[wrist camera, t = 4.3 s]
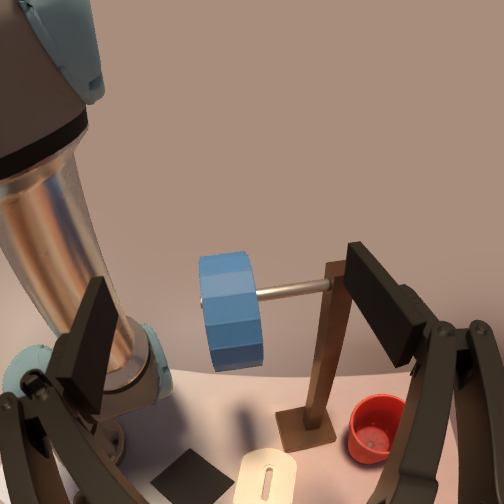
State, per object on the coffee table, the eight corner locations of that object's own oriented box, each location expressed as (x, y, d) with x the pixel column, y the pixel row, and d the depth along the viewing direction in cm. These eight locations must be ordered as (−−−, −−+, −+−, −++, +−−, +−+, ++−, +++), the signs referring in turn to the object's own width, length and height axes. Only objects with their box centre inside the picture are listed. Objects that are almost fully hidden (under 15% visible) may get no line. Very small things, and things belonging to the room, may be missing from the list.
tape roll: (219, 392, 28) (200, 311, 22) (211, 316, 37) (198, 237, 31) (264, 386, 28) (261, 302, 22) (247, 312, 37) (241, 231, 31)
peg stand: (236, 461, 42) (199, 318, 24) (230, 423, 49) (197, 263, 31) (335, 441, 44) (391, 286, 26) (322, 405, 51) (355, 242, 33)
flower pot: (355, 482, 37) (371, 465, 32) (329, 433, 46) (339, 408, 41) (407, 455, 39) (429, 432, 34) (379, 411, 48) (394, 383, 43)
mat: (150, 483, 38) (149, 482, 38) (190, 448, 44) (189, 447, 44) (193, 521, 32) (192, 520, 32) (234, 482, 39) (234, 481, 39)
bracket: (281, 560, 26) (283, 561, 23) (222, 552, 28) (215, 552, 24) (297, 454, 43) (300, 441, 39) (246, 449, 44) (243, 435, 41)
